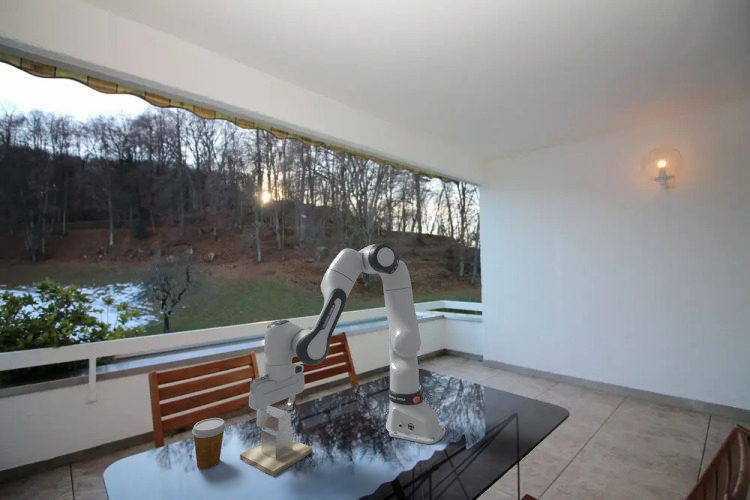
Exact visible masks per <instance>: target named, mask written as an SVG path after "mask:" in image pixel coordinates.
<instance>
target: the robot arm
mask: <svg viewBox="0 0 750 500" xmlns="http://www.w3.org/2000/svg"><path fill="white" fill-rule="evenodd" d="M361 274H363V275H377V274H378V276H379V277H380V278H381V282H382V287H383V288H382V289H383V296H384V297H383V298H384V306H385V312H386V319H387V324H388V329H389V330H388V351H389V352H388V353H389V388H388V403H389V405H388V406H389V407H388V414H387V415H388V416H387V420H386V423H385V429H386V430H387V431H388V432H389V434H388V435H389V437H392V438H396V439H401V440H406V441H410V442H416V443H420V444H426V445H431V444H435V443H437V442H439V441H441V439H443V437H444V436H445V435H446V431H447V430H446V427H445V426H443V425H441V424H440V420H439V415H438V413H437V412H436V411H435V410H434V409H433V408H431V406H430V405H429V404H428V403H426V401H425V400H424V397H425V396H426V392H423V393H422V392H421V390H420V387H419V385H420V384H419V383H420V381H419V380H420V377H419V374H420V373H419V361H418V353H419V352H420V348H421V344H422V343H421V342H422V341H421V340H422V339H421V335H420V329H419V328H420V327H419V323H418V317H417V314H416V310H415V309H416V308H415V302H414V293H413V289H412V281H411V280H412V279H411V277H410V272H409V269H408V267H407V264H406V263H405V262H404V261H402V260H400V259H399V257H398V256H397V253H396V251H395V249H394V248H393V247H392V246H391V245H389V244H387V243H382V242H379V243H374V244H370V245H368V246H366V247H363V248H360V249H358V250H355V249H354V248H353V249H352V248H347V247H346V248H344V249H341V250H340V252H339V253H337V255H336V256H335V258H333V260H332V261H331V263H330V264H329V267H328V268H327V269H326V272H325V273H324V275H323V278H322V280H321V283H320V291H321V293H322V297H323V299H324V301H323V307H322V309H321V311H320V313H319V315H318V318H317V319H316V322H315V323H314V327H312V329H310V328H308V327H303V326H300V325H297V324H296V323H292V322H291V321H290V320H288V319H281V320H275V321H273V322H271V323H269V324H268V325H267V326H266V328H265V330H264V331H265V332H264V341H263V342H264V344H263V347H264V348H263V351H264V354H265V357H264V361H263V362H264V363H263V364H264V365H263V375H262V376H258V377H255V378H254V379H253V380H252V381H251V382H250V385H249V387H250V389H249V394H248V395H249V397H248V406H249V408H250V409H252V410H254V411H257V410H260V411H261V413H262V418H263V420H265V421H266V420H268V419H270V417H269V416H270V413H267V412H266V410H267V406H272V405H273V404H277V403H279V402H281V401H283V400H286V399H288V401H287V403H285V409H286V410H288V411H290V410H292V409H293V408H294V407H293V404H294V402H295V400H296V395H298V394H300V393H302V392H303V391H304V389H305V374H304V370H305V368H304V365H306V366H310V367H312V366H313V367H314V366H317V365H320V364H322V363H323V362H324V361H325V359H326V358H327V357H328V355H329V352H330V347H331V339H332V336H333V333H334V331H335V329H336V326H337V324H338V322H339V319H340V318H341V316H342V313H343V311H344V309H345V306H346V304H347V303H346V302H347V300H348V298H349V295H350V293H351V291H352V289H353V287H354V286H355V283H356V281H357V279H358V277H359V276H360V275H361ZM293 358H298V360H299V361H300V362H301V363H302V364H304V365H302V364H300V363H295V362H293Z"/></svg>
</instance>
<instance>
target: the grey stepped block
mask: <svg viewBox="0 0 750 500" xmlns="http://www.w3.org/2000/svg"><path fill="white" fill-rule="evenodd" d="M266 412H267V413H270V416H269V417H270V419H268V420H266V421H265V420H263V418H262V413H261V411H260V410H256V427H258V428H261V442H260V444H261V453H263V454H265V455H268V456H270V457H272V458H274V459H277V458H279V457H281V456H282V455H284V454H286V453H288V452H290V451H291V450H293V440H294V427H293V426H292V413H291V412H289V411H286V410H284V409H280V408H278V407H275V406H272V405H269V406H267V410H266Z"/></svg>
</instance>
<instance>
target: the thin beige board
mask: <svg viewBox="0 0 750 500" xmlns="http://www.w3.org/2000/svg"><path fill="white" fill-rule="evenodd" d="M312 453H313V447H311V446H310V445H307V444H304V443H303V442H302V443H301V442H299V441H297V440H295V439H293V450H291V451H290V452H288V453H286V454H284V455H282V456H281V457H279V458H277V459H274V458H272V457H270V456H268V455H265V454H263V453H261V443H260V444H258V445H256V446H254V447H252V448H250V449H248V450H246V451H245V452H242V453H240V455H239V460H241V461H242V462H245V463H246V464H249V465H250V466H252V467H254V468H256V469H258V470H260V471H262V472H263V473H266V474H267V475H269V476H272V477H274V476H276V475H279V473H281V472H283V471H285V470H286V469H287V468H289V467H291V466H292V465H294V464H296V463H297V462H299V461H301V460H302V459H304V458H306V457H307V456H309V455H310V454H312Z"/></svg>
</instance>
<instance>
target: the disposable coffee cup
mask: <svg viewBox="0 0 750 500" xmlns="http://www.w3.org/2000/svg"><path fill="white" fill-rule="evenodd" d="M226 427H227V426H226V423H225V420H224V419H223V418H219V417H211V418H206V419H202V420H201V421H198V422H196V423H195V424H194V426H193V428H192V430H191V432H192V433H191V434H192V436H193V439H194V440H193V441H194V450H195V459H196V466H197V468H198V469H200V470H207V469H208V470H209V469H211V468H214V467H215V466H217V465H219V463H220V459H221V452H222V445H223V440H224V439H223V438H224V433H225V432H224V431H225V429H226Z"/></svg>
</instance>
